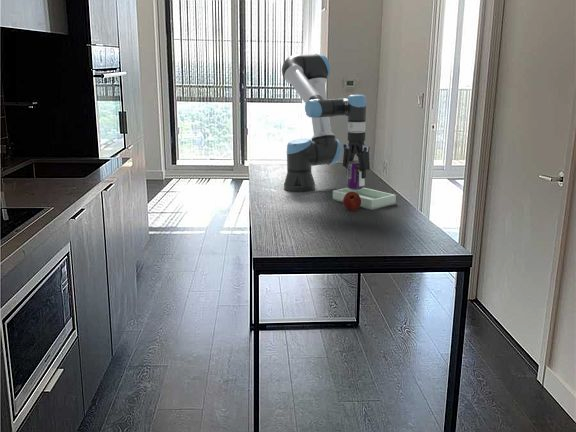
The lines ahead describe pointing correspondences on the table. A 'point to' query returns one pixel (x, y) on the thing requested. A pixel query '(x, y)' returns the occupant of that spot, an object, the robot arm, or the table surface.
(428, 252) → the table surface
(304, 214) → the table surface
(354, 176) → the beverage can
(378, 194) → the tote
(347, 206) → the apple
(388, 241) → the table surface
